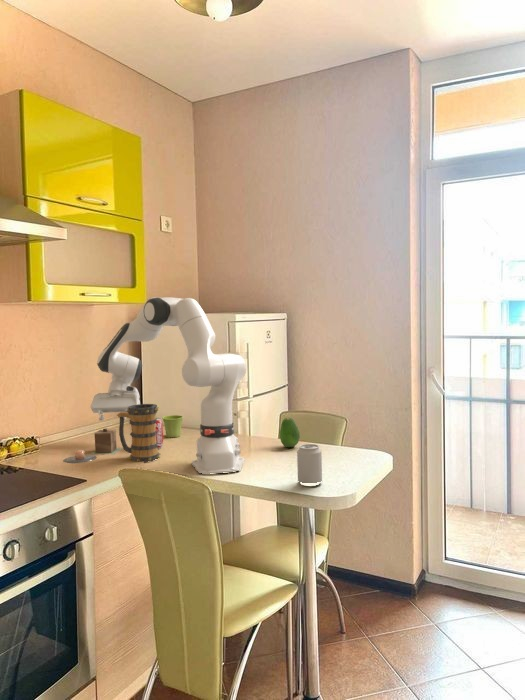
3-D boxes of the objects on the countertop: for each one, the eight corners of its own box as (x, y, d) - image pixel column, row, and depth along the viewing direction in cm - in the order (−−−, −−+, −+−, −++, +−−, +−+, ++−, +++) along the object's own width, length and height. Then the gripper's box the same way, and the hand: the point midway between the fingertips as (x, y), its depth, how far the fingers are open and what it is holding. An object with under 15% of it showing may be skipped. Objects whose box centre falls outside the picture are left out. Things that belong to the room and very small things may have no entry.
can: (320, 480, 175) (319, 442, 174) (324, 487, 167) (323, 447, 167) (296, 481, 174) (295, 443, 174) (299, 488, 167) (298, 448, 166)
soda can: (165, 446, 229) (164, 417, 228) (160, 450, 222) (159, 420, 221) (148, 446, 230) (147, 417, 229) (143, 450, 223) (142, 420, 222)
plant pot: (188, 435, 250) (187, 416, 249) (174, 439, 242) (173, 419, 241) (172, 433, 254) (171, 414, 254) (158, 437, 247) (157, 418, 246)
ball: (83, 459, 208) (83, 451, 208) (74, 460, 208) (73, 452, 208) (85, 457, 212) (85, 449, 212) (76, 458, 211) (75, 450, 211)
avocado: (276, 447, 220) (275, 417, 220) (290, 444, 225) (289, 415, 225) (289, 451, 214) (288, 420, 213) (304, 447, 219) (303, 417, 218)
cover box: (101, 449, 225) (100, 427, 224) (116, 449, 224) (115, 427, 224) (95, 453, 218) (94, 430, 218) (111, 453, 218) (110, 430, 217)
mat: (114, 455, 216) (114, 454, 216) (89, 455, 217) (89, 454, 217) (122, 449, 226) (122, 448, 226) (98, 449, 227) (98, 448, 227)
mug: (153, 464, 201) (150, 409, 200) (110, 462, 205) (107, 408, 204) (167, 455, 213) (165, 403, 212) (127, 453, 217) (125, 403, 216)
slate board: (93, 463, 205) (93, 461, 205) (59, 465, 203) (59, 463, 203) (99, 455, 217) (99, 454, 217) (67, 457, 215) (67, 456, 215)
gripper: (92, 388, 237) (85, 415, 227) (140, 387, 235) (134, 414, 226) (97, 397, 241) (89, 424, 232) (143, 396, 240) (138, 423, 231)
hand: (112, 419), depth 229 cm, fingers open, 8 cm apart
